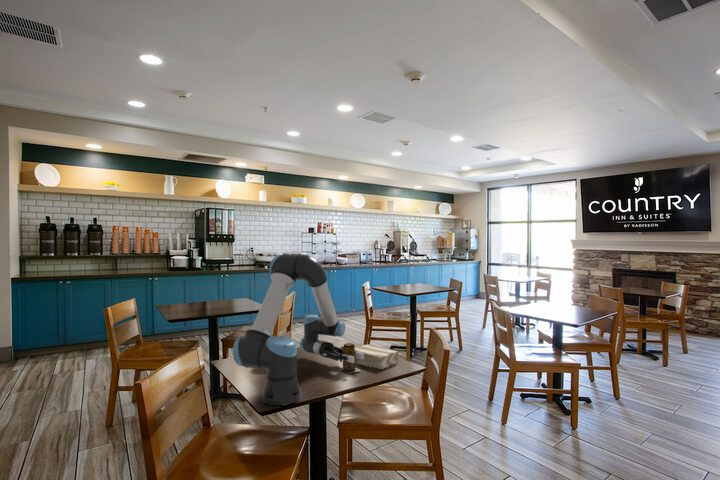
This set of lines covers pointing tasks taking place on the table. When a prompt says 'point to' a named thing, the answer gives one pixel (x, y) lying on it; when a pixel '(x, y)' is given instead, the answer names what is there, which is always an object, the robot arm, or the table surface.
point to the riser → (377, 356)
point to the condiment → (349, 350)
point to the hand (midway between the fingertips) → (358, 358)
